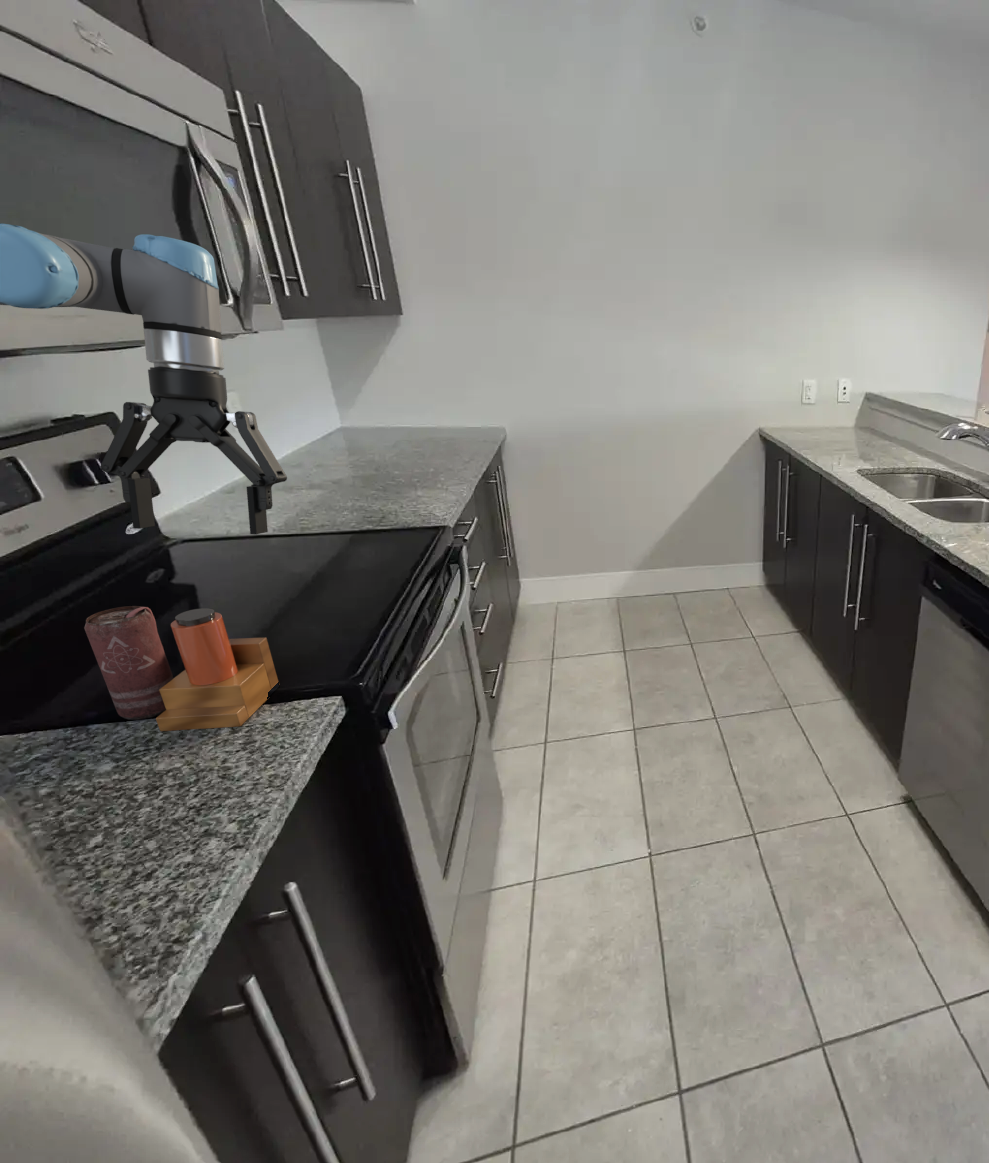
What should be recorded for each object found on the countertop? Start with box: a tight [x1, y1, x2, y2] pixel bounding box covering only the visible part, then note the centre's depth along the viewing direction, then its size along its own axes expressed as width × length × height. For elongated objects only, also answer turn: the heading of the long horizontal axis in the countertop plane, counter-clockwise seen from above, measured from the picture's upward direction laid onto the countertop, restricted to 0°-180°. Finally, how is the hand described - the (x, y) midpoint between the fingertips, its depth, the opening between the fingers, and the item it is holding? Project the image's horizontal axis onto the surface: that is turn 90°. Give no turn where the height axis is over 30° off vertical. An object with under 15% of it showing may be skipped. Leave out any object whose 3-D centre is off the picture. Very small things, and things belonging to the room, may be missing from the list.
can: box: [83, 605, 175, 721], centre depth 83 cm, size 6×6×14 cm
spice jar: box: [170, 607, 238, 685], centre depth 83 cm, size 5×5×9 cm
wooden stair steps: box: [155, 637, 279, 732], centre depth 85 cm, size 9×10×8 cm
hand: (202, 530), depth 88 cm, fingers open, 13 cm apart
